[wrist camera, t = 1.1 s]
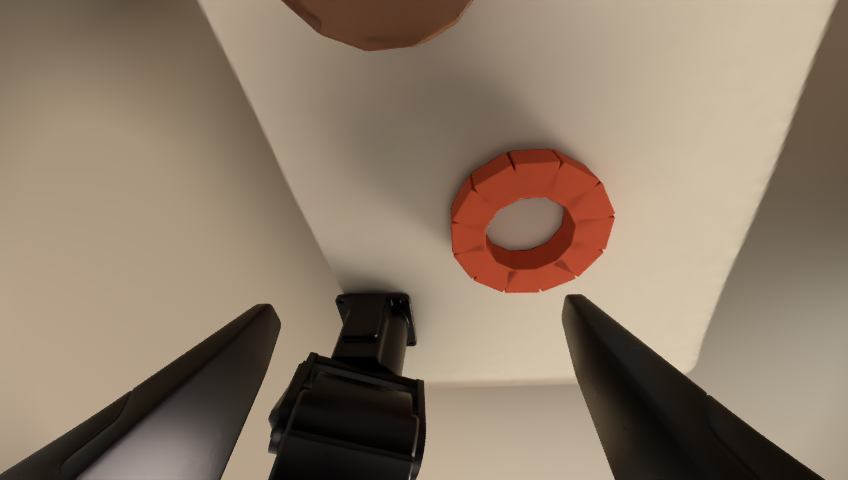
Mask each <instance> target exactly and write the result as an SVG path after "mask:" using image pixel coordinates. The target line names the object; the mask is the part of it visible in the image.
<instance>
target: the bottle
mask: <svg viewBox="0 0 848 480" xmlns="http://www.w3.org/2000/svg"><path fill="white" fill-rule="evenodd" d="M281 1H283V2H284V3H285V4H286V5H287V6H288V7H289V8H290V9H292V10H293V11H294V12H295V13H296V14H297V15H298V16H300V17H301V18H302V19H303V20H304V21H305V22H306V23H307V24H309V25H310V26H311V27H312V28H313V29H314V30H315V31H317V32H318V33H319V34H321V35H323V36H326V37H328V38H331V39H334V40H337V41H339V42H342V43H345V44H348V45H351V46H353V47H356V48H359V49H362V50H364V51H376V50H385V49H395V48H404V47H413V46H416V45H418V44H421V43H424V42H426V41H429V40H430V39H432V38H434V37H435V36H437V35H438V34H440V33H442V32H443V31H445V30H446V29H448V28H450V27H451V26H453V25H454V24H456V23H457V22H458V20H459V19H460V18H461V16H462V15H463V14H464V12H465V11H466V9H467V8H468V7H469V5H470V4H471V3H472V1H473V0H281Z"/></svg>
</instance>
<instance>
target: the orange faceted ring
mask: <svg viewBox="0 0 848 480" xmlns="http://www.w3.org/2000/svg"><path fill="white" fill-rule="evenodd" d="M541 197H546V198H548V199H550V200H552V201H554V202H556V203H558V204H560V205H562V206H564V208H565V212H564V217H563V222H562V227H561V228H560V229H559V230H558V232H557V233H556V234H555V235H554V236H553V237H552V238H551V240H550V241H549V242H547V243H545V244H543V245H541V246H539V247H536V248H534V249H532V250H530V251H507V250H505V249H503V248H501V247H498V246H496V245H494V244H492V242H491V241H490V240H489V238H488V237H487V235H486V227H487V226H488V224H489V223H490V221H491V220H492V219H493V217H494V216H495V214H496V213H497V211H498V210H500V209H502V208H504V207H506V206H508V205H509V204H511V203H513V202H515V201H517V200H519V199H521V198H541ZM613 214H615V212H614V210H613V208H612V205H611V203H610V201H609V198H608V196H607V193H606V191H605V189H604V186H603V184H602V182H601V181H600V180H599V179H598V178H597V177H596V176H595V175H594V174H593V173H592V172H591V171H590V170H589V169H588V168H587V167H586V166H585V165H583V164H581V163H579V162H577V161H575V160H573V159H571V158H570V157H568V156H566V155H564V154H562V153H560V152H558V151H556V150H553V151H551V150H550V149H537V150H521V151H510V152H509V157H508V155H507V154H506V153H504V154H502V155H500V156H499V157H497V158H496V159H494V160H492V161H491V162H489V163H487V164H486V165H484V166H482V167H481V168H479V169H477V170H476V171H474V172H472V177H471V176H469V177H468V178H467V180H466V182H465V183H464V185H463V187H462V188H461V190H460V192H459V194H458V195H457V197H456V199H455V200H454V202H453V204H452V208H451V234H452V252H453V253H454V257H455V258H456V260H457V261H458V262H459V263H460V265H461V266H462V267H463V269H464V270H465V271H466V272H467V274H468V275H469V276H470V277H471V278H474V281H476V282H479V283H481V284H484V285H486V286H489V287H491V288H493V289H496V290H498V291H501V292H503V291H504V290H505V292H506V293H528V292H539V290H540V289H541V290H542V291H545V290H548V289H550V288H553V287H556V286H558V285H561V284H563V283H566V282H568V281H571V280H573V279H575V276H574V275H576V276H578V277H579V276H580V275H581V274H582V273H583V272H584V271H585V270H586V269H587V268H588V267H589V266H590V265H591V264H592V263H593V262H594V261H595V260H596V259H597V258H598V257H599V256H600V255H601V254H602V253H603V251H602V249H606V246H607V242H608V239H609V236H610V232H611V229H612V225H613V222H614V219H615V217H614V216H613Z"/></svg>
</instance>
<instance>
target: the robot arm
mask: <svg viewBox="0 0 848 480" xmlns="http://www.w3.org/2000/svg"><path fill="white" fill-rule="evenodd" d="M403 299H405V300H403ZM342 300H343V301H342ZM336 305H337V307H338V310H339V313H340V316H341V319H342V321H343V327H342V329H341V332H340V335H339V338H338V340H337V343H336V346H335V348H334V351H333V354H332V356H331V358H328V357H324V356H320V355H318V354H317V353H314V352H311V353H310V354H309V356H308V358H307V360H306V361H303V363H301V364H299V366H298V368H297V370H296V372H295V374H294V376H293V378H292V381H291V382H290V384H289V386H288V388H287V389H286V391H285V392H284V393H283V395H282V396H281V398H280V399H279V401H278V402H277V403H276V405H275V407H274V408H273V409H272V411H271V413H270V416H269V419H268V420H269V423H270V425H271V428H272V431H271V435H270V438H271V440H270V444H269V448H268V452H269V453H273V454H277V456H276V459H275V462H274V464H273V467H272V470H271V473H270V476H269V479H268V480H416V478H417V476H418V473H419V470H420V467H421V463H422V459H423V453H424V446H425V439H426V416H425V395H424V380H420V379H416V380H415V379H411V378H407V377H403V376H402V370H403V364H404V357H405V350H406V346H415V345H416V341H417V338H416V332H415V326H414V319H413V313H412V307H411V301H410V297H409V295H407V294H341V295H338V296H337V298H336ZM562 324H563V328H564V332H565V336H566V340H567V344H568V348H569V352H570V356H571V359H572V363H573V367H574V371H575V374H576V377H577V380H578V383H579V385H580V388H581V391H582V394H583V396H584V399H585V401H586V404H587V407H588V409H589V412H590V415H591V417H592V420H593V422H594V425H595V428H596V431H597V433H598V436H599V439H600V441H601V444H602V446H603V449H604V452H605V454H606V457H607V460H608V462H609V465H610V468H611V470H612V473H613V475H614V478H615V480H825V479H823V478H822V477H821V476H819V475H818V474H816V473H815V472H813V471H812V470H811V469H809V468H808V467H806V466H805V465H803V464H802V463H800V462H799V461H798V460H796V459H795V458H793V457H792V456H790V455H789V454H788V453H786V452H785V451H784V450H782V449H781V448H779V447H778V446H776V445H775V444H774V443H772V442H771V441H770V440H768V439H767V438H765V437H764V436H763V435H761V434H760V433H758V432H757V431H756V430H754V429H753V428H752V427H750V426H749V425H748V424H747V423H745V422H744V421H743V420H741V419H740V418H739V417H737V416H736V415H735V414H733V413H732V412H731V411H730V410H728V409H727V408H726V407H724V406H723V405H722V404H721V403H719V402H718V401H717V400H716V399H714V398H713V397H712V396H710V395H707V393H706V392H705V391H704V390H703V389H701V388H700V387H699V386H698V385H696V384H695V383H694V382H692V381H691V380H690V379H689V378H687V377H686V376H685V375H684V374H682V373H681V372H680V371H679V370H677V369H676V368H675V367H674V366H672V365H671V364H670V363H668V362H667V361H666V360H665V359H663V358H662V357H661V356H660V355H658V354H657V353H656V352H654V351H653V350H652V349H651V348H649V347H648V346H647V345H646V344H644V343H643V342H642V341H641V340H639V339H638V338H637V337H635V336H634V335H633V334H632V333H630V332H629V331H628V330H627V329H625V328H624V327H623V326H622V325H620V324H619V323H618V322H616V321H615V320H614V319H613V318H611V317H610V316H609V315H608V314H606V313H605V312H604V311H602V310H601V309H600V308H599V307H597V306H596V305H595V304H594V303H592V302H591V301H590V300H589V299H587V298H586V297H585V296H583V295H581V294H571V295H567V296H566V297H565V300H564V306H563V311H562ZM280 328H281V323H280V319H279V317H278V316H277V314H276V312H275V310H274V308H273V306H272V305H270V304H257V305H255V306H253V307H252V308H250V309H249V310H248V311H246V312H245V313H243V314H242V315H240V316H239V317H237V318H236V319H234V320H233V321H232V322H230V323H229V324H227V325H226V326H224V327H223V328H221V329H220V330H218V331H217V332H215V333H214V334H213V335H211V336H210V337H208V338H207V339H205V340H204V341H202V342H201V343H199V344H198V345H197V346H195V347H194V348H192V349H191V350H189V351H188V352H186V353H185V354H184V355H182V356H180V357H179V358H177V359H176V360H175V361H173V362H172V363H170V364H169V365H167V366H166V367H164V368H163V369H161V370H160V371H158V372H157V373H156V374H154V375H153V376H151V377H150V378H148V379H147V380H145V381H144V382H142V383H141V384H140V385H138V386H137V387H135V388H134V389H133V390H132V391H129V392H128V393H126V394H125V395H123V396H122V397H121V398H119V399H117V400H116V401H115V402H113V403H112V404H110V405H109V406H107V407H106V408H104V409H103V410H101V411H100V412H98V413H97V414H95V415H94V416H92V417H91V418H89V419H88V420H86V421H85V422H83V423H81V424H80V425H78V426H77V427H75V428H73V429H72V430H70V431H69V432H67V433H66V434H64V435H63V436H61V437H59V438H58V439H56V440H54V441H53V442H51V443H50V444H48V445H46V446H45V447H43V448H42V449H40V450H39V451H37V452H35V453H34V454H32V455H30V456H29V457H27V458H26V459H24V460H22V461H21V462H19V463H18V464H16V465H15V466H13V467H11V468H10V469H8V470H6V471H5V472H3V473H2V474H0V480H220V479H221V477H222V475H223V472H224V470H225V468H226V466H227V463H228V461H229V459H230V456H231V454H232V452H233V449H234V447H235V445H236V442H237V440H238V438H239V435H240V433H241V431H242V428H243V426H244V424H245V421H246V419H247V416H248V414H249V412H250V410H251V407H252V405H253V403H254V400H255V398H256V396H257V394H258V391H259V389H260V387H261V384H262V382H263V379H264V377H265V374H266V372H267V369H268V366H269V363H270V360H271V356H272V353H273V350H274V347H275V344H276V341H277V337H278V335H279V331H280Z"/></svg>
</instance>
